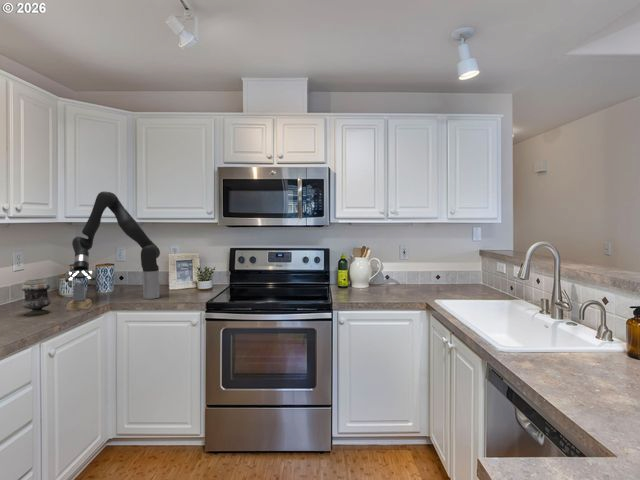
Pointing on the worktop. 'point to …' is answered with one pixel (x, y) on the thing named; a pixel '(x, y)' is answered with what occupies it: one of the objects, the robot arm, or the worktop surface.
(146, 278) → the robot arm
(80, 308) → the tan flat rounded piece
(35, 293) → the apothecary jar
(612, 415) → the worktop surface
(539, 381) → the worktop surface
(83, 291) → the housing
